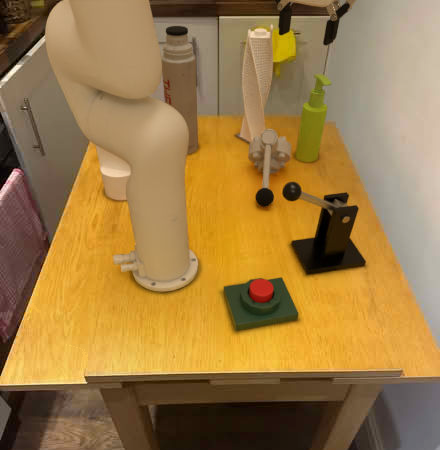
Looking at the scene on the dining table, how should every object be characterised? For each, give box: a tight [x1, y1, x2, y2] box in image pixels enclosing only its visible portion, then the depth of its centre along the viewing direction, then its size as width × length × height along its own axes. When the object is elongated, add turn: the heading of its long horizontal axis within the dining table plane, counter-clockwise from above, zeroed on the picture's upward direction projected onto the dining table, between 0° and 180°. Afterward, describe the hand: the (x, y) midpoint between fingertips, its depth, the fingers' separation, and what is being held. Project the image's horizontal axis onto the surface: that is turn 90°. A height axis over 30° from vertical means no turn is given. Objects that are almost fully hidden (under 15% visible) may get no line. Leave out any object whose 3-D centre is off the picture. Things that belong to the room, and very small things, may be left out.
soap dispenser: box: [294, 73, 332, 163], centre depth 100 cm, size 6×7×20 cm
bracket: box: [290, 191, 367, 276], centre depth 77 cm, size 12×9×13 cm
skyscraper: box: [235, 23, 274, 145], centre depth 104 cm, size 8×8×28 cm
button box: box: [223, 276, 300, 332], centre depth 71 cm, size 11×9×4 cm
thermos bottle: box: [161, 25, 199, 155], centre depth 100 cm, size 8×8×28 cm
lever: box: [281, 181, 349, 215], centre depth 71 cm, size 14×3×3 cm, turn 103°
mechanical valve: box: [247, 128, 292, 208], centre depth 97 cm, size 10×18×15 cm
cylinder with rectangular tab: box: [94, 144, 131, 201], centre depth 92 cm, size 9×9×12 cm
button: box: [249, 278, 274, 303], centre depth 69 cm, size 4×4×2 cm
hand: (305, 38), depth 79 cm, fingers open, 9 cm apart
